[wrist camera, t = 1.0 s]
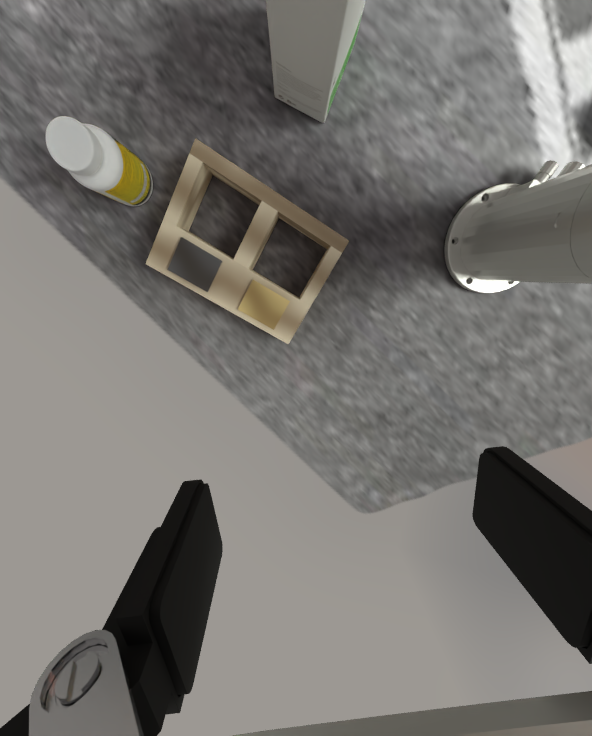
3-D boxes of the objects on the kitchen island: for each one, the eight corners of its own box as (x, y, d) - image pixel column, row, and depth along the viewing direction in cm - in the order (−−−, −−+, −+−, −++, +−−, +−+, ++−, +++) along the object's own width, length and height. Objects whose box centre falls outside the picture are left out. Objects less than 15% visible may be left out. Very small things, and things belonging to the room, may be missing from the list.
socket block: (206, 154, 32) (194, 136, 28) (342, 244, 36) (349, 240, 32) (160, 265, 36) (144, 263, 32) (288, 337, 39) (288, 344, 35)
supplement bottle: (153, 157, 33) (98, 110, 23) (155, 210, 34) (105, 185, 25) (105, 151, 32) (30, 100, 23) (109, 204, 34) (41, 176, 25)
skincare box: (323, 126, 32) (352, -3, 17) (269, 96, 31) (250, -68, 16) (357, 38, 30) (424, -199, 15) (300, 3, 29) (311, -289, 14)
